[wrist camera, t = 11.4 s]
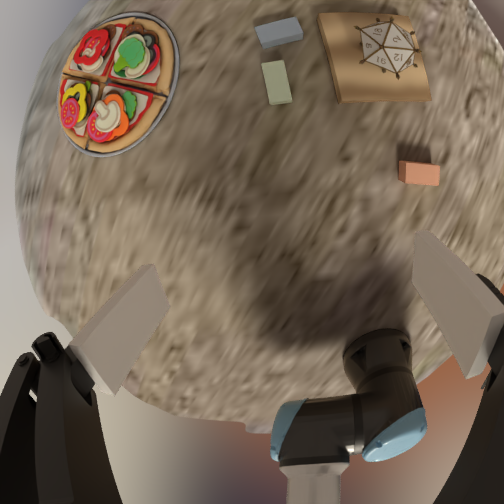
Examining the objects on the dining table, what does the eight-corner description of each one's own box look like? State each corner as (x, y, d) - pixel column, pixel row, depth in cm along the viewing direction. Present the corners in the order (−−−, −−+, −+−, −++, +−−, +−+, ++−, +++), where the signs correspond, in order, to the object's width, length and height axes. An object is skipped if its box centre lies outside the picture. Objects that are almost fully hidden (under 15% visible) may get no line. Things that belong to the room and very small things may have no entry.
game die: (364, 49, 29) (367, -4, 19) (417, 71, 26) (431, 19, 17) (343, 78, 28) (344, 16, 19) (404, 104, 26) (422, 43, 16)
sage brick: (292, 102, 34) (292, 99, 31) (271, 105, 35) (269, 103, 32) (284, 65, 32) (283, 59, 29) (263, 68, 32) (261, 63, 30)
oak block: (423, 101, 30) (431, 100, 27) (338, 103, 33) (342, 101, 30) (401, 22, 24) (408, 16, 22) (316, 20, 27) (318, 13, 25)
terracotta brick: (430, 163, 34) (439, 166, 31) (430, 181, 35) (438, 185, 32) (398, 160, 35) (406, 162, 32) (398, 179, 36) (405, 183, 33)
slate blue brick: (295, 24, 28) (295, 16, 26) (302, 39, 29) (303, 32, 27) (256, 34, 30) (254, 27, 27) (263, 49, 31) (261, 43, 28)
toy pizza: (89, 14, 28) (76, 10, 25) (209, 23, 30) (200, 13, 26) (48, 137, 41) (34, 140, 37) (148, 176, 42) (134, 181, 38)
